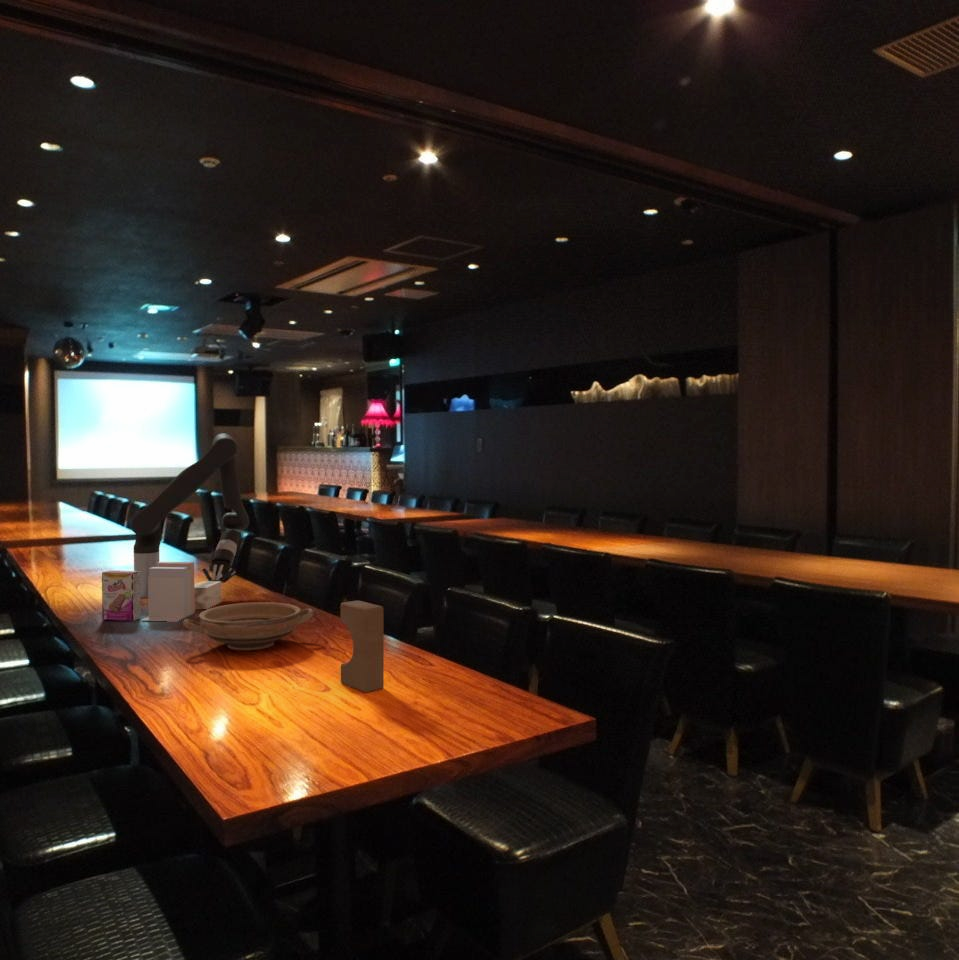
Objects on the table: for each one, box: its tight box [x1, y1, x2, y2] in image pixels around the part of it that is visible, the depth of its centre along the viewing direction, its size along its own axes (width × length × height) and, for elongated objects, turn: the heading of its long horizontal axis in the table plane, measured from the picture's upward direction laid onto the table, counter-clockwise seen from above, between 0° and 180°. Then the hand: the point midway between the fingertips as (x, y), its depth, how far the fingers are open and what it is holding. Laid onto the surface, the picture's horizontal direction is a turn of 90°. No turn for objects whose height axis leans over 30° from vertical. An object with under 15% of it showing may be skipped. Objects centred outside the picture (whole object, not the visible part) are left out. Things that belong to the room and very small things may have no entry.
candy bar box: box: [101, 569, 141, 622], centre depth 264 cm, size 11×5×16 cm, turn 84°
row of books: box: [141, 561, 196, 623], centre depth 268 cm, size 12×14×18 cm
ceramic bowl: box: [182, 601, 314, 652], centre depth 231 cm, size 37×29×10 cm
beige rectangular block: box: [194, 580, 223, 610], centre depth 288 cm, size 7×14×8 cm, turn 177°
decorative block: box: [339, 600, 385, 694], centre depth 191 cm, size 11×6×20 cm, turn 42°
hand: (213, 590), depth 296 cm, fingers closed
